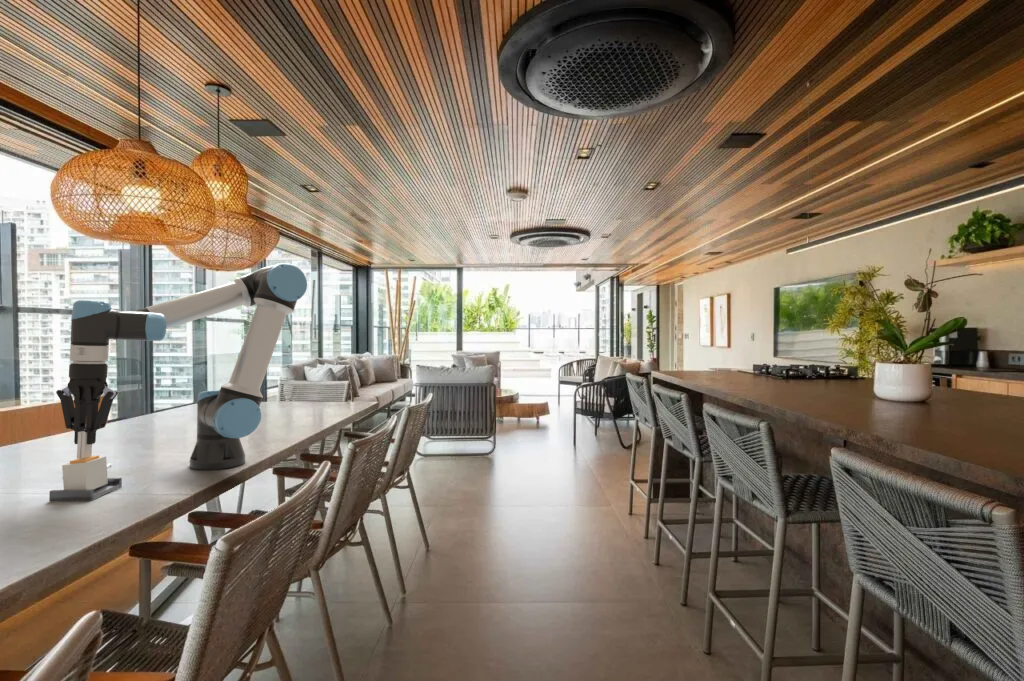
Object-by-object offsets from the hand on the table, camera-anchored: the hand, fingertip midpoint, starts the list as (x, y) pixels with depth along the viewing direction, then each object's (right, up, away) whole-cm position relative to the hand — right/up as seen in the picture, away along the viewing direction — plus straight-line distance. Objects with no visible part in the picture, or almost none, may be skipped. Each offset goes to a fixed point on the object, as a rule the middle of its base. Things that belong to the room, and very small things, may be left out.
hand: (84, 457), depth 132 cm
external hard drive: (-16, -10, +21) cm, 28 cm away
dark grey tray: (+1, -9, 0) cm, 9 cm away
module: (+1, -8, 0) cm, 8 cm away
